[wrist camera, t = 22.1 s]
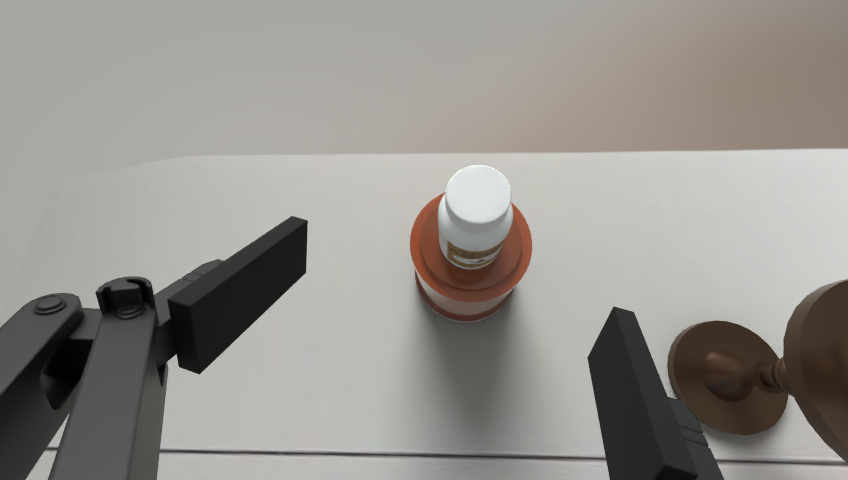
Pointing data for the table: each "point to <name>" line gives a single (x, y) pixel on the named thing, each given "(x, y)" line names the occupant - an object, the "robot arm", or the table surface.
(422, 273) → the brown cylindrical container
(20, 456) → the robot arm
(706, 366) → the candlestick
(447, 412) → the table surface
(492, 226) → the pill bottle
